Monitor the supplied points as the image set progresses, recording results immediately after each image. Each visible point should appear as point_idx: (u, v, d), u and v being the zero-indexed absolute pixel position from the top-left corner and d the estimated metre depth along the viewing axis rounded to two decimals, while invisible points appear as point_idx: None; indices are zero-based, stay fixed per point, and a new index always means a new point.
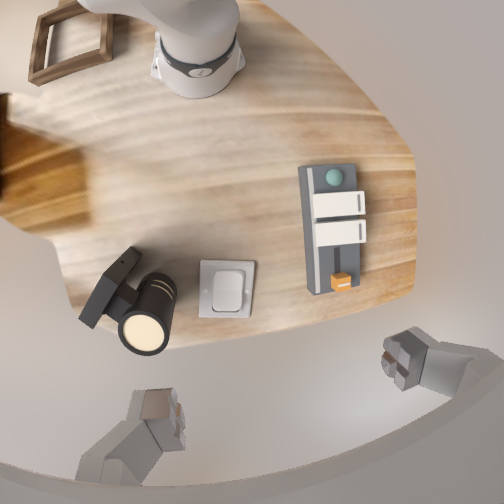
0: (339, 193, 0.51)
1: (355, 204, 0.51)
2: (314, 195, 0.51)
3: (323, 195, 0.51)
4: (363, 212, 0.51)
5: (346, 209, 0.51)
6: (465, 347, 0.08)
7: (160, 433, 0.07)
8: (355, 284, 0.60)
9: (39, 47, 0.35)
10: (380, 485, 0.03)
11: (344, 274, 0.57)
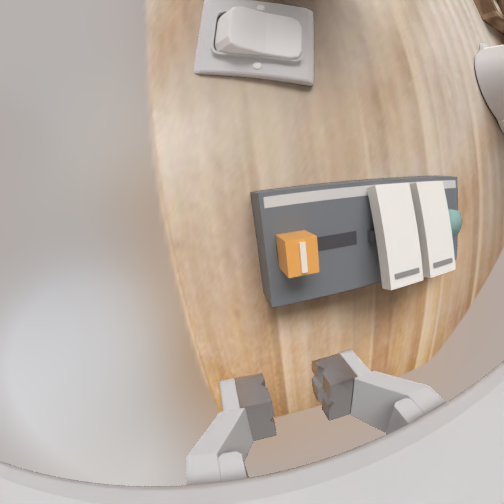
0: (449, 226, 0.26)
1: (440, 255, 0.26)
2: (441, 183, 0.26)
3: (444, 198, 0.26)
4: (432, 273, 0.26)
5: (433, 240, 0.26)
6: (402, 380, 0.07)
7: (257, 420, 0.08)
8: (275, 296, 0.28)
9: None
10: (380, 485, 0.03)
11: None
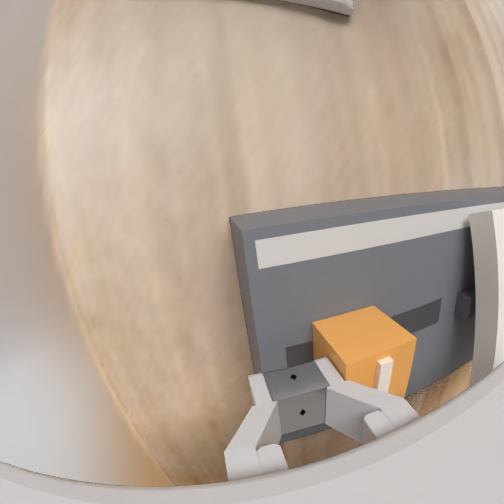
0: None
1: None
2: None
3: None
4: None
5: None
6: (377, 390, 0.07)
7: (287, 413, 0.08)
8: None
9: None
10: (380, 485, 0.03)
11: None
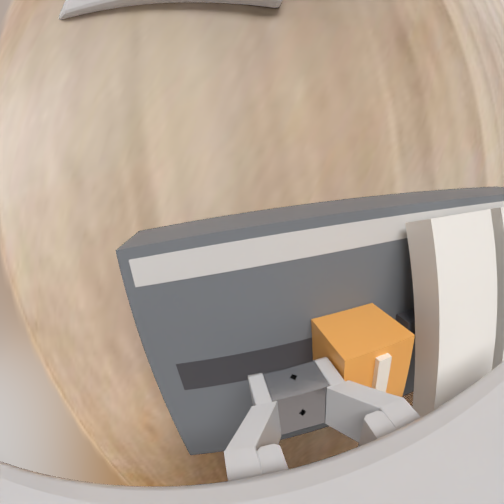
0: None
1: None
2: None
3: None
4: None
5: None
6: (377, 391, 0.07)
7: (287, 413, 0.08)
8: (192, 442, 0.12)
9: None
10: (380, 485, 0.03)
11: None
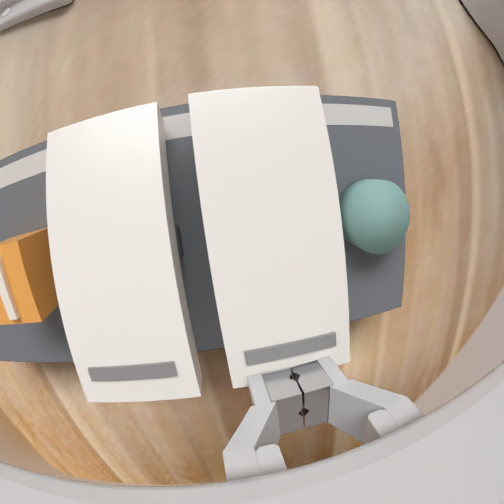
0: (337, 231, 0.09)
1: (280, 329, 0.09)
2: (314, 94, 0.09)
3: (319, 140, 0.09)
4: (240, 378, 0.09)
5: (250, 282, 0.09)
6: (380, 389, 0.07)
7: (286, 413, 0.08)
8: None
9: None
10: (380, 485, 0.03)
11: (53, 292, 0.10)
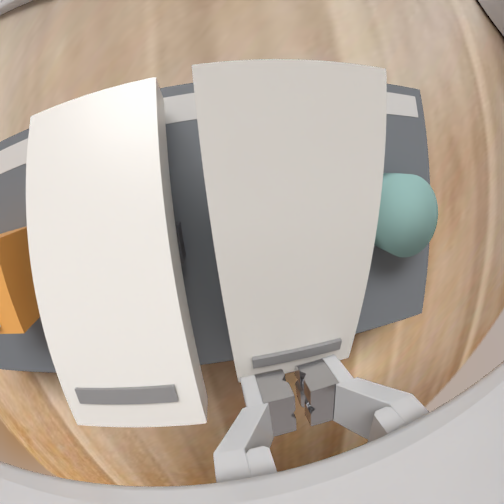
0: (366, 253, 0.08)
1: (289, 339, 0.09)
2: (379, 81, 0.05)
3: (373, 147, 0.06)
4: (246, 375, 0.10)
5: (264, 304, 0.08)
6: (385, 387, 0.07)
7: (279, 415, 0.08)
8: None
9: None
10: (380, 485, 0.03)
11: None
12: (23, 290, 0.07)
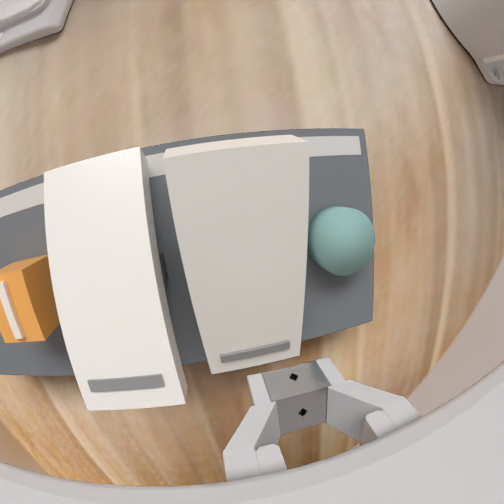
0: (301, 277, 0.11)
1: (247, 340, 0.12)
2: (302, 153, 0.08)
3: (298, 203, 0.09)
4: (217, 368, 0.13)
5: (225, 315, 0.11)
6: (378, 390, 0.07)
7: (286, 413, 0.08)
8: None
9: None
10: (380, 485, 0.03)
11: (54, 314, 0.11)
12: (43, 307, 0.10)
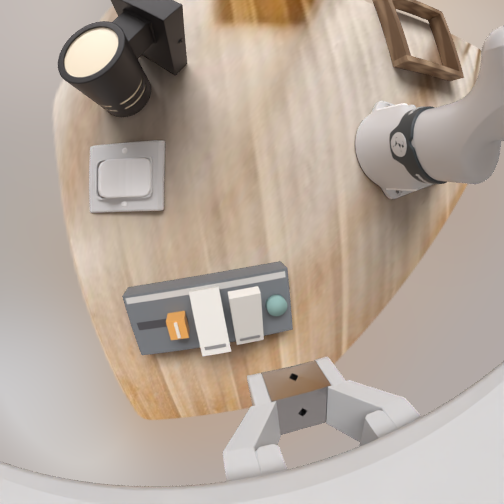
0: (261, 318, 0.42)
1: (247, 334, 0.44)
2: (259, 295, 0.40)
3: (259, 304, 0.41)
4: (238, 343, 0.44)
5: (241, 328, 0.43)
6: (378, 390, 0.07)
7: (286, 413, 0.08)
8: (142, 349, 0.44)
9: (411, 6, 0.36)
10: (380, 485, 0.03)
11: (188, 329, 0.42)
12: (187, 328, 0.42)
